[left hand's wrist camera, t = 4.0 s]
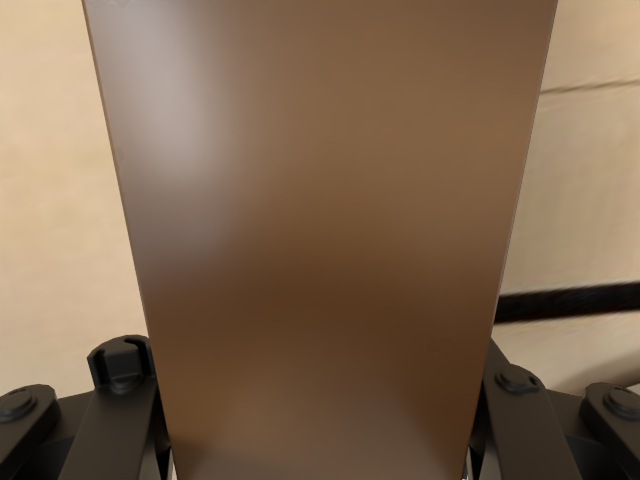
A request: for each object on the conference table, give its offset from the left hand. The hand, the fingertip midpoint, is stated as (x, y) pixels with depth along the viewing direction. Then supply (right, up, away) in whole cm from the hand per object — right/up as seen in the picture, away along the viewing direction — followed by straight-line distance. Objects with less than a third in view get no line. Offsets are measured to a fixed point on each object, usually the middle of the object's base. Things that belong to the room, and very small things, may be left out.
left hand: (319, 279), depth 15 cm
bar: (0, +7, -2) cm, 7 cm away
